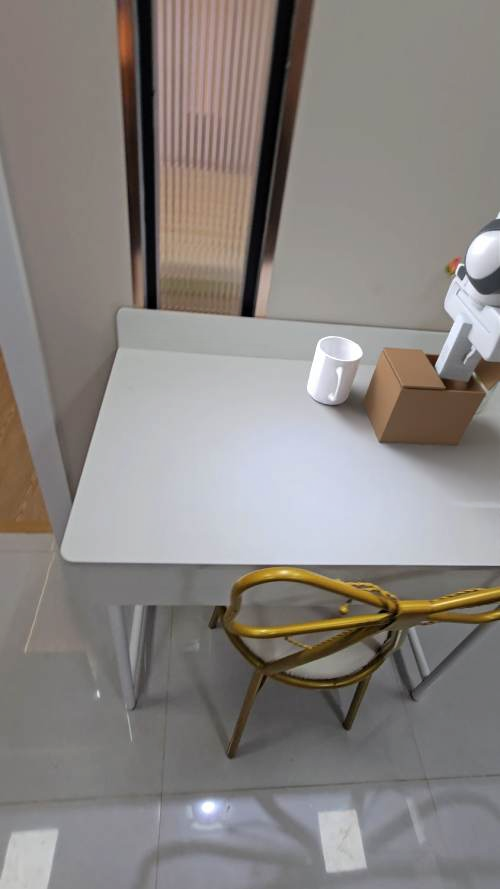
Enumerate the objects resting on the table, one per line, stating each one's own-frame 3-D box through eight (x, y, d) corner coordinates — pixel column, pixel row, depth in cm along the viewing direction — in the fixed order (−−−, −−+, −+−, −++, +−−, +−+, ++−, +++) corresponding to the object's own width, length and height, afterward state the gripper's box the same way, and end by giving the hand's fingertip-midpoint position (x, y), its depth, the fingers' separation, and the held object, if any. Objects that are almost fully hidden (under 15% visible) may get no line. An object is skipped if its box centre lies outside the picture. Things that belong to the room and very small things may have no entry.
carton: (434, 406, 108) (460, 352, 98) (456, 445, 98) (488, 390, 89) (362, 402, 105) (382, 347, 96) (379, 442, 96) (403, 385, 86)
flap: (460, 352, 98) (461, 353, 98) (487, 390, 89) (489, 390, 89) (490, 319, 93) (491, 320, 93) (522, 355, 84) (524, 356, 84)
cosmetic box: (462, 370, 95) (490, 316, 87) (467, 383, 92) (497, 328, 84) (433, 366, 95) (458, 311, 87) (437, 378, 92) (463, 322, 84)
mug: (338, 379, 111) (351, 335, 103) (359, 412, 103) (375, 367, 95) (300, 381, 108) (311, 336, 100) (318, 415, 100) (332, 369, 92)
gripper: (543, 317, 74) (500, 388, 83) (485, 263, 89) (454, 329, 98) (506, 314, 73) (467, 386, 83) (454, 260, 88) (426, 327, 97)
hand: (460, 355), depth 90 cm, fingers closed on cosmetic box, 4 cm apart
